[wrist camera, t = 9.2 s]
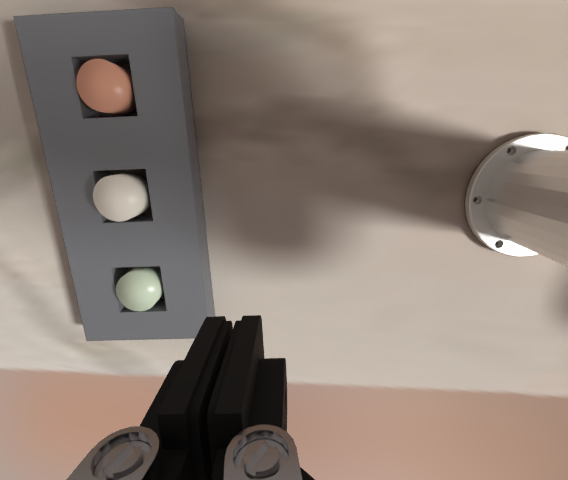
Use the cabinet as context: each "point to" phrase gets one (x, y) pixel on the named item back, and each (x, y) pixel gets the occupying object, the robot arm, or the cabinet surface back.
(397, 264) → the cabinet surface
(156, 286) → the sage button
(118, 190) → the cream button
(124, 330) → the button panel
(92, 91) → the terracotta button
